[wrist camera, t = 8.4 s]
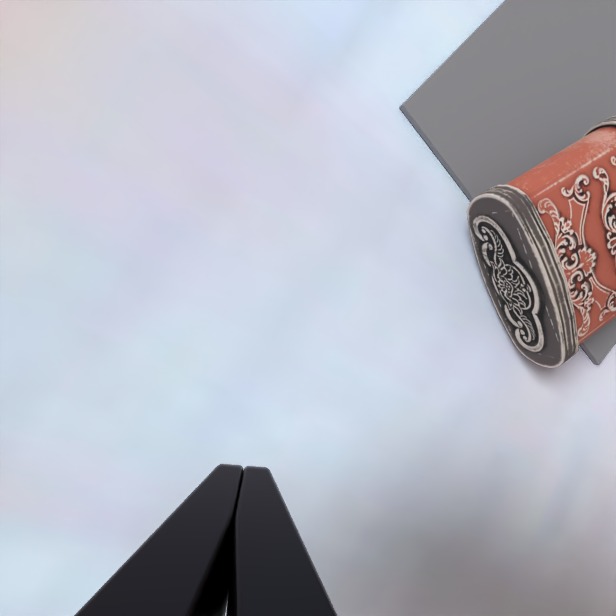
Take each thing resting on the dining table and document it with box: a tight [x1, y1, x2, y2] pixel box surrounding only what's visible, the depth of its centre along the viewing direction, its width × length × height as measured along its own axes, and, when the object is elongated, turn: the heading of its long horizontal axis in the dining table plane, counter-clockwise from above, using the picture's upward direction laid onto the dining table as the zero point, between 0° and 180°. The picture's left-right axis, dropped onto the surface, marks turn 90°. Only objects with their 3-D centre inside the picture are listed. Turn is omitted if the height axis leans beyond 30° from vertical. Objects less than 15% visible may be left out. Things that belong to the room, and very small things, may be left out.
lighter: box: [467, 116, 616, 368], centre depth 19 cm, size 8×3×10 cm
